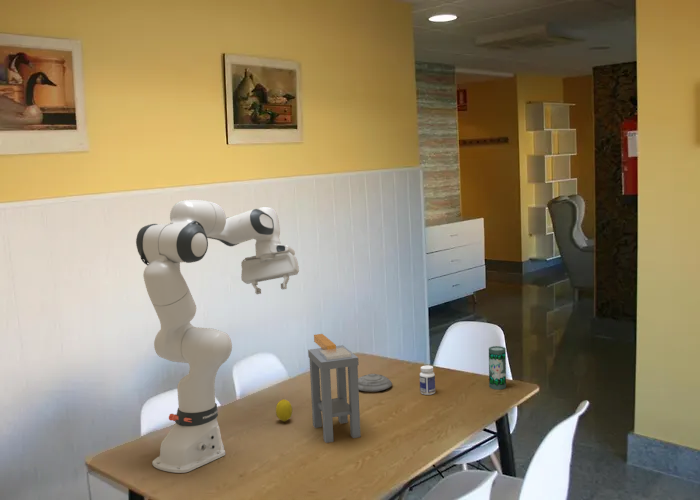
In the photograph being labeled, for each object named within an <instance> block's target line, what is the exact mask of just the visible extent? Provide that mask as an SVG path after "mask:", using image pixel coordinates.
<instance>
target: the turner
mask: <svg viewBox="0 0 700 500" xmlns="http://www.w3.org/2000/svg"><path fill="white" fill-rule="evenodd" d="M313 340H314V341H313V342H314V343H315V344H316V345H317V346H318V347H319V348H322V349H323V350H321V351H320V355H321V356H322V357H323V358H324V359H325V360H326V361H329V360H337V359H344V358H351V353H350V352H348V351H347V350H346V349H345V348H336V346H337V344H336V343H334V342H333V341H332V340H330V339H329V338H328V337H327V336H326V335H324V333H318V334H313Z"/></svg>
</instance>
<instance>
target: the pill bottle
mask: <svg viewBox="0 0 700 500" xmlns="http://www.w3.org/2000/svg"><path fill="white" fill-rule="evenodd" d="M419 391H420V393H421V394H422V395H425V396H430V395H434V394H435V393H436V374H435V372H434V366H432V365H429V364H427V365H422V366H420V372H419Z"/></svg>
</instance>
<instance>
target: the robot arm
mask: <svg viewBox="0 0 700 500" xmlns="http://www.w3.org/2000/svg"><path fill="white" fill-rule="evenodd" d="M169 219H170V222H169V223H150V224H148V225H145V226H142V227H141V228H140V229H139V231H138V232H137V234H136V235H137V236H136V238H135V243H136V245H135V246H136V249H137V253H138V255H139V256H140V260H141V261H142V262H143V263H144V264H145V265H146V267H145V268H144V270H143V275H142V276H143V281H144V284H145V288H146V291H147V292H146V293H147V295H148V297H149V299H150V300H149V301H151V304H152V306H153V308H154V311H155V313H156V315H157V317H158V319H159V323H160V330H159V331H158V332H157V333H156V335H155V338H154V341H153V345H154V346H153V348H154V350H155V354H156V355H157V356H158V357H160V358H162V359H164V360H167V361H169V362H174V363H182V364H188V365H189V370H188V373H187V374H186V375H185V376H183V377H182V378H181V379H180V380H179V382H178V384H177V388H176V389H177V404H178V407H177V410H176V413H175V414H174V413H170V414H169V416H168V420H169V421H173V422H174V425H172V427H171V429H170V430H169V432H168V433H167V435H166V436H165V437H164V439H162V442H161V443H160V449H159V452H160V453H159V456H157V457H155V458H154V459H153V460H152V466H153V467H154V468H156V469H157V470H160V471H164V472H168V473H176V474H180V473H181V474H183V473H184V474H185V473H188V472H191V471H193V470H196V469H197V468H199V467H202V466H205V465H206V464H209V463H211V462H213V461H216V460H217V459H221V457H224V456H226V450H225V445H224V443H223V440H222V435H221V429H220V426H219V421H218V418H217V417H218V416H219V412H218V411H219V409H218V404H217V403H216V389H215V388H216V386H215V385H216V384H215V383H216V377H217V373H218V371H219V369H220V367H221V366H222V365H223V364H224V363H226V362H227V361H228V359H229V358H230V356H231V353H232V349H233V344H232V340H231V338H230V335H229V334H228V333H226V332H224V331H222V330H219V329H215V328H210V327H209V328H208V327H200V326H199V327H197V326H194V325H192V324H191V321H192V320H193V319H194V318H195V316H196V312H197V305H196V302H195V300H194V298H193V295H192V293H191V291H190V289H189V286H188V284H187V282H186V279H185V278H184V276H183V274H182V272H181V263H186V264H190V263H191V264H192V263H196V262H199V261H201V260H202V259H203V258H204V257H205V255H206V253H207V252H208V248H209V241H208V239H211V240H216V241H219V242H220V243H223V244H224V245H225V246H228V247H236V246H237V245H240V244H242V243H245V242H248V241H251V240H255V244H254V245H255V255H253V256H248V257H244V258H243V259H242V261H241V277H240V278H241V281H242V282H243V283H244V284H246V285H249V284H251V286H252V287H253V288H254V294H255V295H261V294H262V289H261V287H258V285H259V282H265V281H270V280H276V279H281V278H283V281H282V283H280V288H281V290H287V289H288V287H287V284H288V282H289V280H290V277H292V276H297V275H298V273H299V271H300V270H299V269H300V268H299V262H298V259H297V257H296V256H295V255H296V251H295V250H294V249H293V247H291V246H289V245H286V244H282V243H281V241H280V235H281V228H280V221H279V216H278V213H277V212H276V210H275V209H274V208H273V207H268V206H262V207H261V206H260V207H258V208H254V209H250V210H249V209H248V210H247V211H243V212H240V213H238V214H235V215H233V216H230V217H229V216H228V217H227V216H226V212H225V210H224V208H223V207H222V206H221V205H220V204H218V203H216V202H214V201H210V200H204V199H185V200H180V201H178V202H176V203H175V204H174V205H173V206H172V208H171V210H170V214H169Z"/></svg>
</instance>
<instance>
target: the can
mask: <svg viewBox="0 0 700 500" xmlns="http://www.w3.org/2000/svg"><path fill="white" fill-rule="evenodd" d="M506 353H507V349H506V347H504V346H501V345H493V346H490V347H488V386H489V387H488V388H489V389H492V390H498V391H499V390H505V389H506V388H507V363H506V362H507V354H506Z"/></svg>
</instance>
